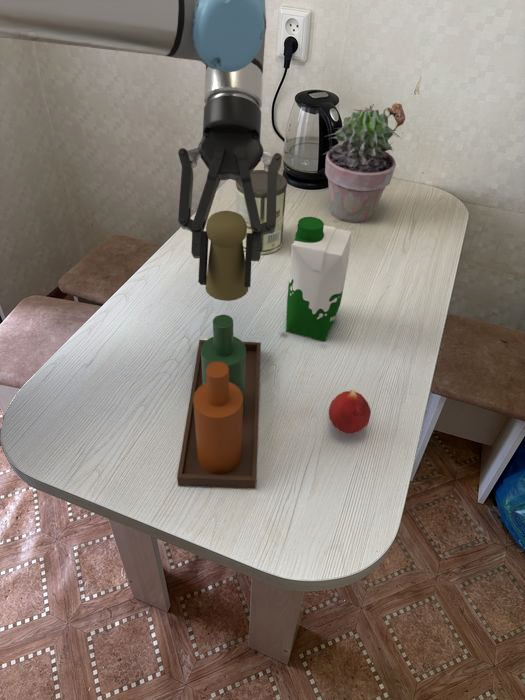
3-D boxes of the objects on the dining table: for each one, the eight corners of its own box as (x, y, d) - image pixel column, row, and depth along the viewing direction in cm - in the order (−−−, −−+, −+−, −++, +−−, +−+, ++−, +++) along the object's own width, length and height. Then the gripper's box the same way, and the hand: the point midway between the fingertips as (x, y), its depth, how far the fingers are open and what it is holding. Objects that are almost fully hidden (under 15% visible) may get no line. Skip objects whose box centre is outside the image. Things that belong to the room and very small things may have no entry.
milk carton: (293, 304, 95) (303, 207, 81) (340, 316, 93) (359, 218, 79) (279, 334, 89) (288, 233, 75) (329, 346, 87) (347, 246, 73)
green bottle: (202, 422, 73) (196, 335, 61) (206, 391, 77) (201, 304, 66) (243, 424, 73) (245, 338, 61) (245, 393, 78) (247, 307, 66)
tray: (178, 486, 66) (176, 477, 65) (199, 348, 85) (199, 339, 84) (255, 489, 66) (256, 480, 65) (260, 351, 85) (260, 342, 84)
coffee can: (249, 225, 115) (251, 165, 105) (290, 238, 112) (295, 177, 102) (226, 246, 108) (226, 183, 99) (268, 260, 105) (272, 197, 95)
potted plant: (294, 201, 124) (304, 93, 107) (363, 190, 130) (383, 85, 113) (329, 238, 112) (347, 123, 95) (402, 224, 118) (431, 113, 101)
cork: (224, 306, 67) (223, 234, 60) (196, 285, 70) (192, 214, 63) (257, 289, 70) (260, 218, 63) (229, 269, 74) (229, 199, 66)
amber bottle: (195, 473, 67) (187, 387, 55) (200, 436, 71) (194, 350, 60) (240, 475, 67) (242, 390, 55) (242, 438, 71) (244, 352, 60)
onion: (368, 419, 76) (378, 383, 70) (361, 449, 72) (372, 413, 66) (330, 409, 77) (338, 372, 71) (321, 438, 73) (329, 402, 67)
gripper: (299, 124, 70) (292, 291, 69) (168, 117, 70) (160, 285, 69) (305, 96, 62) (297, 283, 62) (157, 88, 62) (148, 276, 62)
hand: (224, 284), depth 66 cm, fingers closed on cork, 5 cm apart
